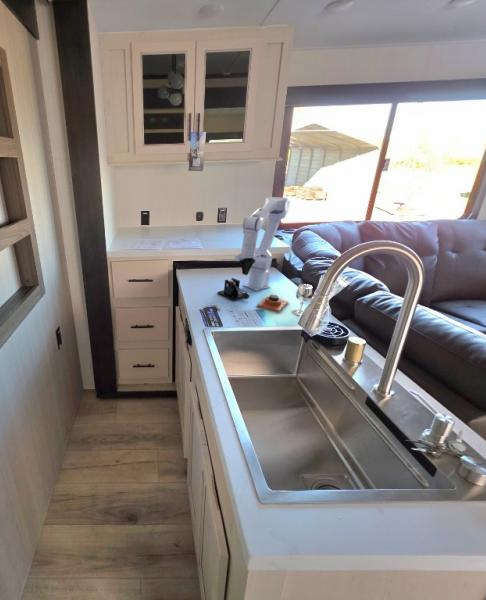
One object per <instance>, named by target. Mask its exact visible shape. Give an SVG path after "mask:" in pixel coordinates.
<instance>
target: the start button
mask: <svg viewBox="0 0 486 600" xmlns="http://www.w3.org/2000/svg"><path fill="white" fill-rule="evenodd" d="M269 296H270V297H269V300H271V301H278V298H280V297H279V295H277V294H270V295H269Z"/></svg>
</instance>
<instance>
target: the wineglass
mask: <svg viewBox="0 0 486 600" xmlns="http://www.w3.org/2000/svg"><path fill="white" fill-rule="evenodd" d="M312 296H313V286H312V285H310V284H305V283H301V284H299V285H298V287H297V289H296V291H295V298H296V299H297V300H298V301H300V306H299V310H295V311H293V313H294V315H297V316H300V315H301V313H302V312H303V311H302V309H303V308H302V307H303V305H304V302H308V301H310V300H311V299H312Z"/></svg>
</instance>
